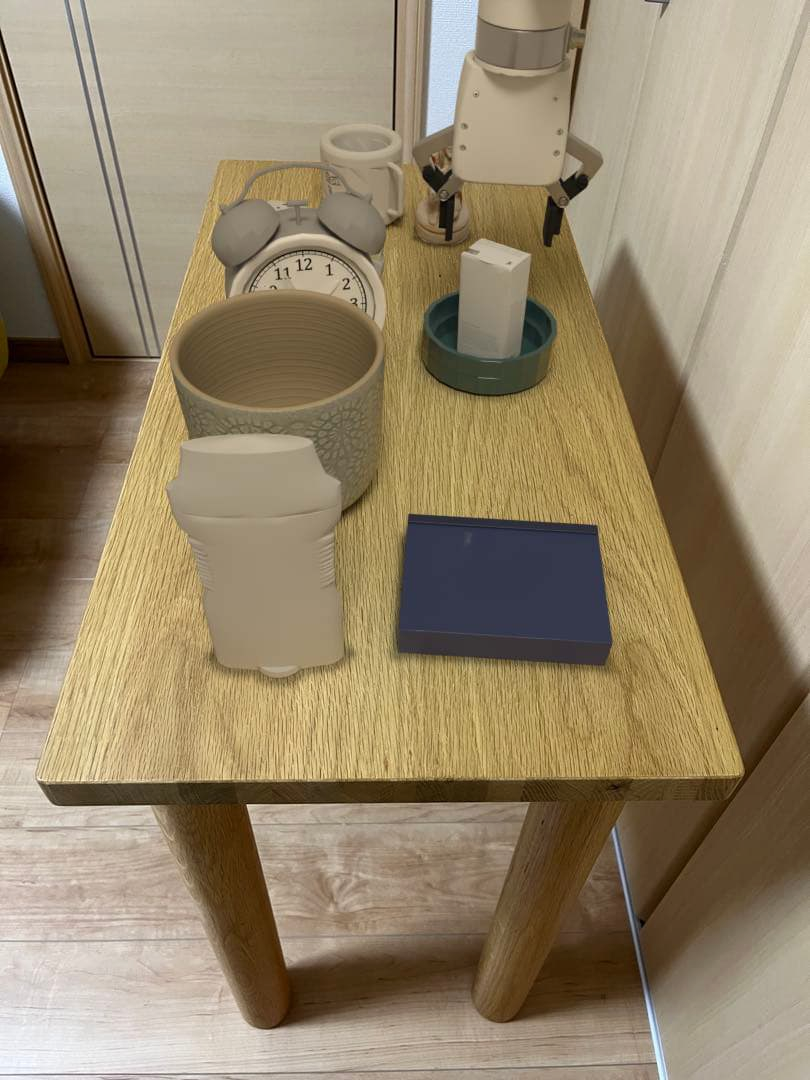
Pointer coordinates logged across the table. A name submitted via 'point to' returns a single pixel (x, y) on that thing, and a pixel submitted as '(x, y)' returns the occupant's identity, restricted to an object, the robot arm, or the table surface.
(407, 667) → the table surface
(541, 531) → the book
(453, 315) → the bowl
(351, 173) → the mug
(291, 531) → the deodorant stick
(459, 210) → the figurine
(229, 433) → the planter
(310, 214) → the alarm clock
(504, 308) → the cosmetic box
